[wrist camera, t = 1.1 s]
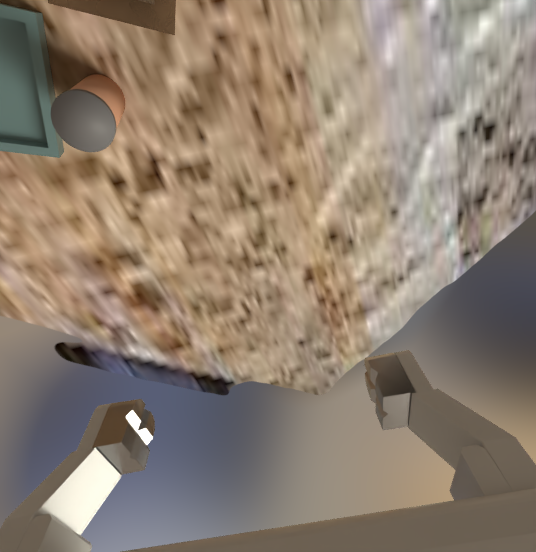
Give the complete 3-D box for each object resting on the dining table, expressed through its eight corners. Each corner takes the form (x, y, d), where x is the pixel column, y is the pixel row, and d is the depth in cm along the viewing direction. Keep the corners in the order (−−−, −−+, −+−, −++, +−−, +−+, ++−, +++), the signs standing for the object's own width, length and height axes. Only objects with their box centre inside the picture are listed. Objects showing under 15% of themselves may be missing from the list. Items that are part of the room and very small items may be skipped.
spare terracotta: (80, 118, 39) (56, 148, 30) (74, 68, 36) (45, 85, 27) (127, 125, 40) (116, 155, 31) (125, 78, 37) (113, 97, 28)
